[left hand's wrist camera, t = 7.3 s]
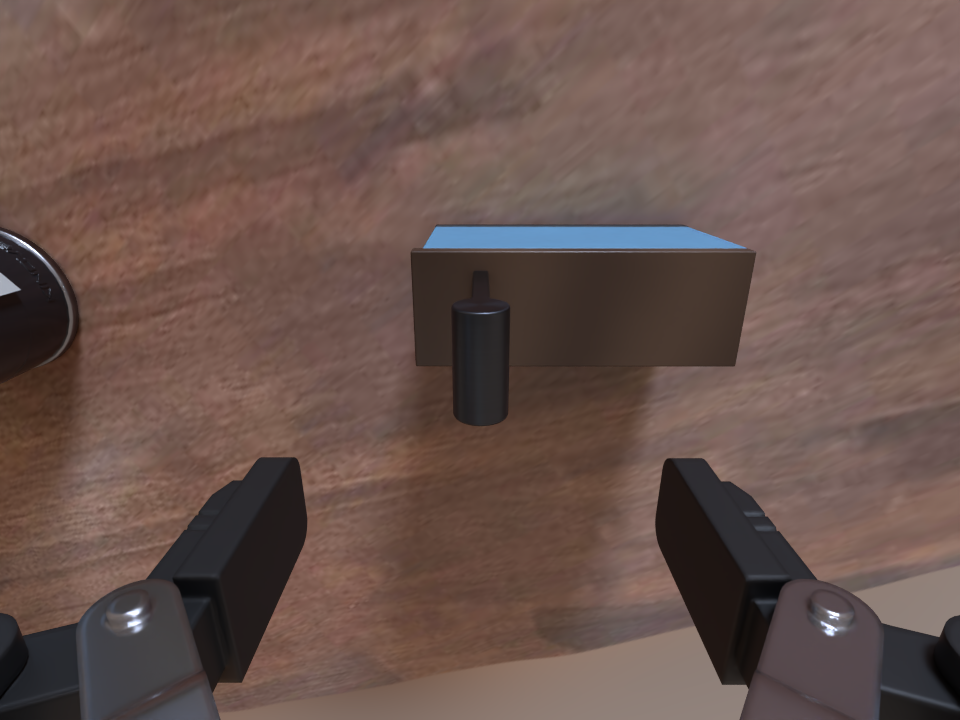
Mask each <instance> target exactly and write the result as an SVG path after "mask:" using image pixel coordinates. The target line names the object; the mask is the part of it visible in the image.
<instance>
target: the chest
mask: <svg viewBox="0 0 960 720" xmlns="http://www.w3.org/2000/svg"><path fill="white" fill-rule="evenodd" d="M423 248H745V247H742V246H739V245H737V244H734V243H731V242H728V241H725V240H723V239H720V238H717V237H714V236H711V235H709V234H706V233H703V232H700V231H697V230H695V229H692V228H689V227H688V226H685V225H436V227H435V229H434V231H433V233H432V234H431V236H430V238H429V239H428V241H427V242H426V244H425V246H424V247H423Z"/></svg>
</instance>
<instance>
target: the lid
mask: <svg viewBox="0 0 960 720" xmlns="http://www.w3.org/2000/svg"><path fill="white" fill-rule="evenodd" d="M755 256H756V251H753V250H750V249H747V248H414V249H413V250H412V251H411V270H412V292H413V313H414V334H415V356H416V366H452V370H453V414H454V416H455V418H456V419H457V420H459V421H460V422H462V423H465V424H468V425H473V426H488V425H493V424H497V423H499V422H501V421H503V420H504V419H505V418H506V417H507V415H508V394H509V366H735V363H736V358H737V352H738V347H739V342H740V336H741V331H742V326H743V320H744V315H745V310H746V304H747V299H748V294H749V288H750V283H751V278H752V272H753V267H754V262H755Z"/></svg>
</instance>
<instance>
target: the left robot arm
mask: <svg viewBox="0 0 960 720" xmlns="http://www.w3.org/2000/svg"><path fill="white" fill-rule="evenodd" d="M78 318H79V314H78V306H77V301H76V298H75V294H74V292H73V289H72V287H71V285H70V283H69V281H68V279H67V278H66V276H65V274H64V273H63V271H62V270H61V269H60V267H59V266H58V265H57V264H56V263H55V261H54V260H53V259H52V258H51V257H50V256H49V255H48V254H47V253H46V252H44V251H43V250H42V249H41V248H40V247H38V246H37V245H36V244H34V243H33V242H31V241H30V240H28V239H27V238H25V237H23V236H21V235H19V234H17V233H15V232H12V231H10V230H7V229H4V228H0V384H1V383H3V382H5V381H7V380H10V379H12V378H14V377H16V376H18V375H20V374H22V373H24V372H26V371H28V370H30V369H32V368H36V367H39V366H42V365H44V364H46V363H48V362H51V361H53V360H55V359H56V358H58V357H59V356H61V355H62V354H63V353H64V352H65V351H66V350H67V349H68V348H69V346H70V345H71V344H72V342H73V340H74V338H75V335H76V332H77V328H78ZM655 527H656V536H657V541H658V544H659V547H660V549H661V552H662V554H663V556H664V558H665V560H666V563H667V565H668V567H669V569H670V571H671V574H672V576H673V578H674V580H675V582H676V585H677V587H678V589H679V591H680V593H681V595H682V598H683V600H684V602H685V604H686V606H687V609H688V611H689V613H690V615H691V617H692V620H693V622H694V624H695V626H696V628H697V631H698V633H699V635H700V637H701V639H702V642H703V644H704V646H705V648H706V650H707V652H708V655H709V657H710V659H711V661H712V664H713V666H714V668H715V670H716V672H717V674H718V677H719V679H720V681H721V683H722V685H747V687H748V689H749V691H748V694H747V697H746V700H745V704H744V707H743V710H742V713H741V717H740V720H960V615H959V616H954V617H952V618H950V619H949V620H948V621H947V622H946V624H945V626H944V628H943V631H942V633H941V635H940V637H936V636H932V635H928V634H924V633H919V632H915V631H911V630H907V629H903V628H898V627H894V626H890V625H887V624H883V623H881V621H880V619H879V618H878V616H877V615H876V614H875V612H874V611H873V610H872V609H871V608H870V607H869V606H868V605H867V604H866V603H864V602H863V601H862V600H861V599H859V598H858V597H856V596H855V595H853V594H852V593H850V592H848V591H846V590H844V589H842V588H840V587H838V586H836V585H833V584H830V583H827V582H823V581H819V580H817V579H816V577H815V576H814V575H813V574H812V572H811V571H810V570H809V568H808V567H807V566H806V565H805V563H804V562H803V561H802V560H801V558H800V557H799V556H798V555H797V553H796V552H795V551H794V550H793V548H792V547H791V546H790V544H789V543H788V542H787V541H786V539H785V538H784V537H783V536H782V534H781V533H780V532H779V531H776V527H775V525H774V524H773V523H772V522H771V520H770V519H769V518H768V517H765V513H764V512H763V510H762V509H761V508H760V507H759V505H758V504H757V503H756V501H755V500H754V499H753V498H752V496H750V495H749V494H747V493H746V492H745V491H743V490H742V489H740V488H739V487H737V486H736V485H734V484H733V483H731V482H721V481H720V480H719V478H718V477H717V475H716V474H715V473H714V471H713V470H712V469H711V467H710V466H709V465H708V463H707V462H706V461H705V460H704V459H702V458H668V459H666V461H665V462H664V465H663V470H662V477H661V483H660V490H659V497H658V504H657V511H656V519H655ZM306 532H307V513H306V506H305V499H304V492H303V485H302V478H301V471H300V465H299V462H298V460H297V459H296V458H294V457H261V458H259V459H258V460H257V461H256V462H255V464H254V465H253V466H252V468H251V469H250V471H249V472H248V473H247V475H246V476H245V477H244V479H243V480H242V481H232V482H230V483H229V484H227V485H226V486H224V487H223V488H222V489H220V490H219V491H217V492H216V493H214V494H213V495H212V496H211V497H210V498H209V500H208V501H207V502H206V503H205V505H204V506H203V507H202V508H201V510H200V511H199V515H196V516H195V517H194V519H193V520H192V521H191V522H190V524H189V525H188V528H187V530H184V531H183V533H182V534H181V535H180V537H179V538H178V539H177V540H176V542H175V543H174V544H173V545H172V547H171V548H170V549H169V551H168V552H167V553H166V554H165V556H164V557H163V558H162V559H161V561H160V562H159V563H158V565H157V566H156V567H155V568H154V570H153V571H152V572H151V574H150V575H149V576H148V577H147V579H146V580H141V581H137V582H133V583H130V584H127V585H124V586H122V587H120V588H118V589H116V590H114V591H112V592H110V593H108V594H107V595H105V596H104V597H102V598H101V599H99V600H98V601H97V602H96V603H94V604H93V605H92V606H91V607H90V608H89V609H88V610H87V611H86V612H85V614H84V615H83V616H82V618H81V619H80V621H79V622H78V623H75V624H71V625H66V626H62V627H58V628H54V629H50V630H45V631H41V632H37V633H33V634H29V635H24V636H22V634H21V631H20V629H19V626H18V624H17V622H16V620H15V619H14V618H13V617H12V616H10V615H8V614H3V613H0V720H220V717H219V713H218V710H217V707H216V704H215V700H214V697H213V694H212V693H213V691H214V689H215V687H216V685H217V683H242V681H243V679H244V676H245V674H246V672H247V670H248V668H249V665H250V663H251V661H252V659H253V656H254V654H255V652H256V650H257V648H258V645H259V643H260V641H261V639H262V636H263V634H264V632H265V630H266V628H267V625H268V623H269V621H270V619H271V616H272V614H273V612H274V610H275V608H276V605H277V603H278V601H279V599H280V596H281V594H282V592H283V590H284V588H285V585H286V583H287V581H288V579H289V576H290V574H291V572H292V570H293V568H294V565H295V563H296V561H297V559H298V556H299V554H300V552H301V550H302V548H303V545H304V542H305V538H306Z"/></svg>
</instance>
